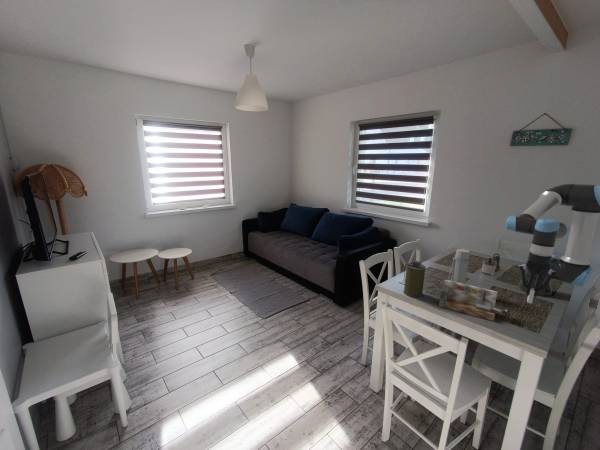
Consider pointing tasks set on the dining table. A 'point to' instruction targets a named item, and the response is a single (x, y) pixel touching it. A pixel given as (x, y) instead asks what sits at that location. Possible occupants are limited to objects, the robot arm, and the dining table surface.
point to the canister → (414, 279)
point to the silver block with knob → (489, 306)
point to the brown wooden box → (466, 299)
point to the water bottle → (460, 266)
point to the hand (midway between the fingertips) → (529, 301)
